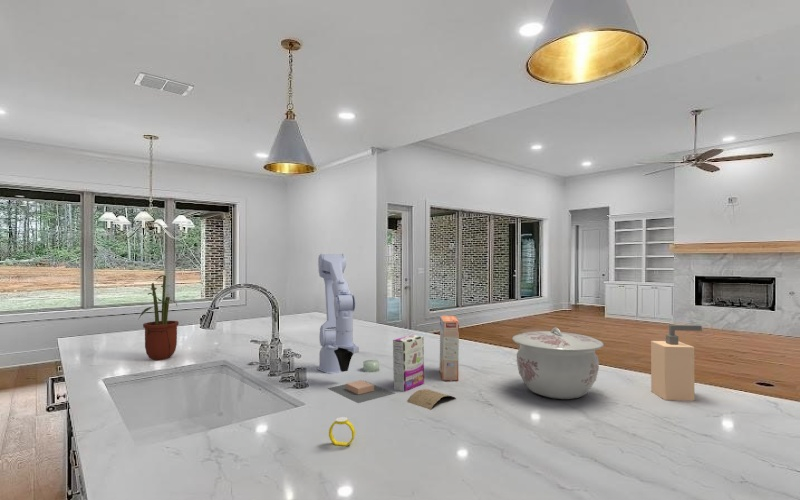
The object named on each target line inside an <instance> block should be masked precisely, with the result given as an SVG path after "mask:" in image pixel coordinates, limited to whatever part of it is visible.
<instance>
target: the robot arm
mask: <svg viewBox="0 0 800 500" xmlns="http://www.w3.org/2000/svg"><path fill="white" fill-rule="evenodd" d="M317 259H318V262H317V265H318V274H319V277H320V278H323V281H324V289H325V290H324V291H325V311H326V321H325V322H324V323H322V324H321V325H320V327H319V344H320V346H321V348H320V350H319V357H318V359H319V361H318V362H319V366H318V367H317V370H319V371H320V372H323V373H325V374H328V375H333V374H337V373H343V372H347V371H349V367H350V364H351V360H352V358H353V355H354V354H359V352H360V351H359V350H360V349H359V346H358V345H356V344H355V343H354V341H353V340H354V312H355V309H356V298H355V295H354V294H353V292H351V291H350V287H349V283H348V281H347V280H346V279H344V272H345V269H346V266H347V257H346V255H345V254H344V253H332V254H330V253H319V255H318V258H317Z"/></svg>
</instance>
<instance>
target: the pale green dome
mask: <svg viewBox="0 0 800 500" xmlns="http://www.w3.org/2000/svg"><path fill="white" fill-rule="evenodd" d="M362 368H363V369H362V370H363V372H365V373H377V372H379V371H380V361H379V360H378V359H368V360H363V364H362Z"/></svg>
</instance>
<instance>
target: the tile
mask: <svg viewBox="0 0 800 500" xmlns="http://www.w3.org/2000/svg"><path fill="white" fill-rule="evenodd" d="M365 381H366V380H363V379H360V380H357V381H352V382H346V383H345V384H346V389H347V390H349V391H351V392H354V393H356V394H358V395H359V394H363V393H367V392H371V391H374V385H375V384H373V383H371V382H368V381H366V382H365ZM370 383H371V384H370Z"/></svg>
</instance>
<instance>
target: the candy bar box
mask: <svg viewBox="0 0 800 500" xmlns="http://www.w3.org/2000/svg"><path fill="white" fill-rule="evenodd" d="M392 350H393V351H392V358H393V367H392V368H393V390H396V391H400V392H405V393H406V392H408V391H410V390H412V389H415V388H417V387H421V386H423V385H424V384H425V368H424V367H425V363H424V362H425V361H424V358H425V357H424V356H425V355H424V353H425V351H424V350H425V349H424V335H419V334H411V335H406V336H403V337H400V338H394V339H393V340H392Z"/></svg>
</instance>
